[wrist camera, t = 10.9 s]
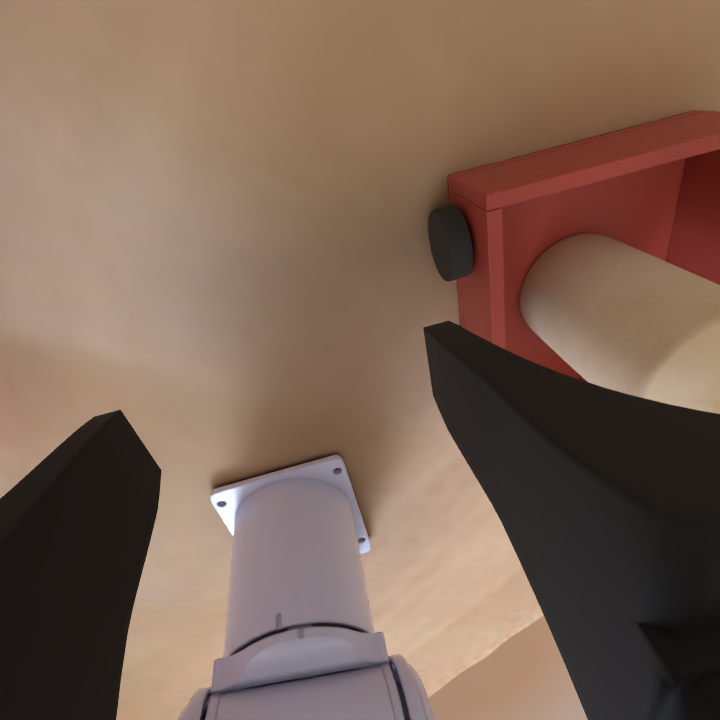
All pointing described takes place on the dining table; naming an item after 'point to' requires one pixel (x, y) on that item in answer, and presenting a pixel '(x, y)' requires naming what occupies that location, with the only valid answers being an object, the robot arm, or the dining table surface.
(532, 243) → the cart
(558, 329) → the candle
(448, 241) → the cart wheels
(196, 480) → the dining table surface
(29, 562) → the robot arm
